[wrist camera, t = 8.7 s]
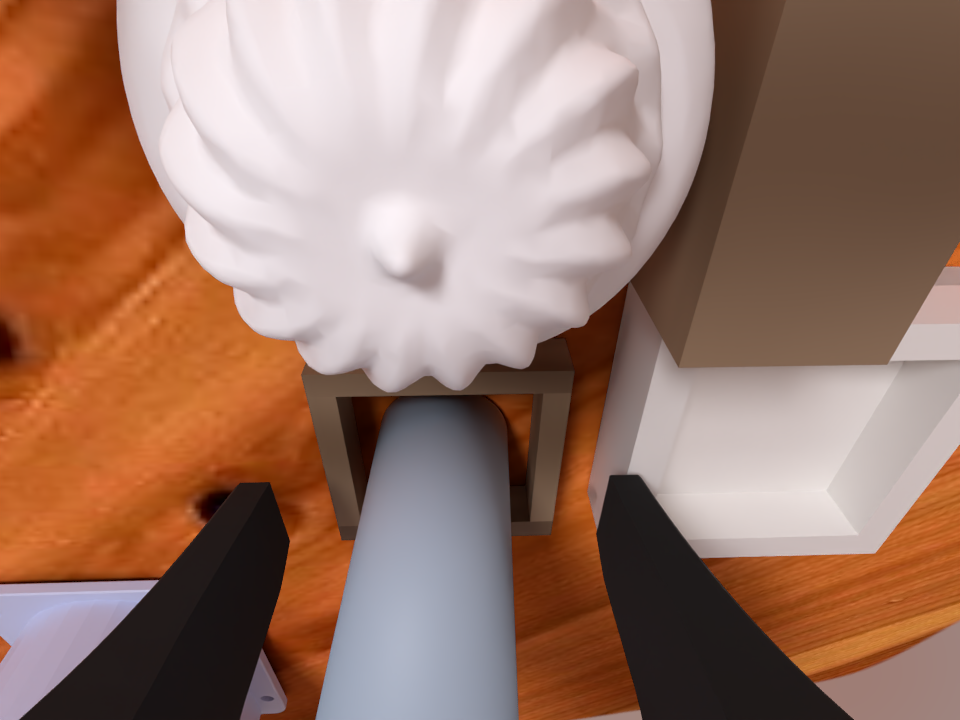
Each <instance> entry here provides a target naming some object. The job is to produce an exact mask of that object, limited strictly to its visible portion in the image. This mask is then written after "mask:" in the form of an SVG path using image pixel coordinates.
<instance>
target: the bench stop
mask: <svg viewBox="0 0 960 720" xmlns="http://www.w3.org/2000/svg"><path fill="white" fill-rule="evenodd" d="M711 6H712V17H713V30H714V41H715V74H714V91H713V98H712V106H711V113H710V121H709V126H708V131H707V136H706V141H705V145H704V148H703V152H702V156H701V159H700V162H699V165H698V168H697V171H696V174H695V177H694V180H693V182H692V185H691V187H690V190H689V192H688V194H687V197H686V199H685V201H684V203H683V205H682V207H681V209H680V211H679V213H678V215H677V217H676V219H675V220H674V222H673V223H672V225H671V227H670V228H669V230H668V232H667V233H666V235H665V237H664V238H663V240H662V241H661V243H660V244H659V245H658V247H657V248H656V250H655V251H654V253H653V254H652V255H651V257H650V258H649V259H648V260H647V262H646V263H645V264H644V265H643V266H642V268H641V269H640V270H639V271H638V273H637V274H636V275H635V276H634V277H633V278H632V279H631V280H630V282H631V283H632V285H633V287H634V289H635V291H636V292H637V294H638V296H639V298H640V300H641V301H642V303H643V305H644V307H645V309H646V310H647V312H648V314H649V316H650V317H651V319H652V321H653V323H654V325H655V326H656V328H657V330H658V332H659V334H660V335H661V337H662V339H663V341H664V343H665V344H666V346H667V348H668V350H669V352H670V353H671V355H672V357H673V359H674V360H675V362H676V364H677V366H678V368H702V367H769V366H837V365H887V364H888V363H889V361H890V359H891V358H892V356H893V354H894V352H895V351H896V349H897V347H898V346H899V344H900V342H901V341H902V339H903V337H904V335H905V334H906V332H907V330H908V329H909V327H910V325H911V323H912V322H913V320H914V318H915V317H916V315H917V313H918V312H919V310H920V308H921V306H922V305H923V303H924V301H925V300H926V298H927V296H928V294H929V293H930V291H931V289H932V288H933V286H934V284H935V283H936V281H937V279H938V277H939V276H940V274H941V272H942V271H943V269H944V267H945V265H946V264H947V262H948V260H949V259H950V257H951V255H952V254H953V252H954V250H955V248H956V247H957V245H958V243H959V242H960V0H711Z"/></svg>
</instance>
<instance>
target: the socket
mask: <svg viewBox="0 0 960 720" xmlns="http://www.w3.org/2000/svg"><path fill="white" fill-rule="evenodd" d="M574 372H575V370H574V367H573V363H572V360H571V356H570V353H569V350H568V346H567V343H566V340H565V338H550V339H548V340H546V341H543V342H540V343H538V344H537V347H536V351H535V355H534V358H533V360H532V362H531V364H530V366H529V367H526V368H524V369H517V368H512V367H508V366H505V365H501V364H498V363H495V364H485V366H484V367H483V368H482V369H481V370H480V372H479V373H478V374H477V376H476V377H475V378H474V380H473V381H472V382H471V384H470V385H468V386H467V387H466V388H464V389H463V390H461V391H459V390H452V389H450V388H448V387H446V386H444V385H443V384H441V383H440V382H439V381H438V380H437V379H435V378H434V377H433V376H424V377H422V378H420V379H419V380H417V381H416V382H414V383H412V384H411V385H409V386H408V387H406V388H405V389H403V390H400V391H398V392H385V391H383V390H381V389H380V388H378V387H377V386H376V385H374V384H373V383H372V382H371V380H370V379H369V378H368V377H367V375H366V374H365V372H364V371H363V369H362V368H359V369H356V370H352V371H349V372H346V373H343V374H336V375H325V374H321V373H319V372H317V371H316V370H314V369H312V368H311V367H309V366H308V365H307V363H306V364H305V367H304V369H303V372H302V374H301V376H302V380H303V384H304V388H305V392H306V396H307V400H308V404H309V408H310V413H311V417H312V421H313V425H314V429H315V433H316V437H317V441H318V445H319V449H320V453H321V457H322V461H323V466H324V470H325V474H326V478H327V482H328V486H329V490H330V494H331V498H332V502H333V506H334V510H335V514H336V519H337V523H338V527H339V531H340V535H341V539H342V540H355V539H356V534H357V530H358V525H359V521H360V516H361V512H362V507H363V503H364V498H365V494H366V489H367V481H366V476H365V470H364V465H363V459H362V453H361V448H360V442H359V437H358V431H357V426H356V420H355V414H354V409H353V403H352V398H351V397H360V396H422V395H483V394H534V395H533V406H532V417H531V429H530V440H529V451H528V462H527V473H526V484H525V486H509V487H510V513H511V536H528V535H551V530H552V523H553V516H554V509H555V503H556V496H557V489H558V482H559V475H560V468H561V461H562V455H563V448H564V441H565V434H566V427H567V420H568V413H569V407H570V400H571V393H572V386H573V379H574Z"/></svg>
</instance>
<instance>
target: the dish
mask: <svg viewBox="0 0 960 720" xmlns="http://www.w3.org/2000/svg"><path fill="white" fill-rule="evenodd" d="M959 444H960V267H944V269H943V271H942V272H941V274H940V276H939V277H938V279H937V281H936V283H935V284H934V286H933V288H932V289H931V291H930V293H929V294H928V296H927V298H926V300H925V301H924V303H923V305H922V306H921V308H920V310H919V312H918V313H917V315H916V317H915V318H914V320H913V322H912V323H911V325H910V327H909V329H908V330H907V332H906V334H905V335H904V337H903V339H902V341H901V342H900V344H899V346H898V347H897V349H896V351H895V352H894V354H893V356H892V358H891V359H890V361H889V363H888V364H887V365H837V366H769V367H702V368H678V366H677V364H676V362H675V360H674V359H673V357H672V355H671V353H670V352H669V350H668V348H667V346H666V344H665V343H664V341H663V339H662V337H661V335H660V334H659V332H658V330H657V328H656V326H655V325H654V323H653V321H652V319H651V317H650V316H649V314H648V312H647V310H646V309H645V307H644V305H643V303H642V301H641V300H640V298H639V296H638V294H637V292H636V291H635V289H634V287H633V285H632V283H631V282H630V281H629V284H628V289H627V294H626V299H625V304H624V309H623V314H622V319H621V324H620V330H619V335H618V340H617V345H616V350H615V355H614V360H613V365H612V370H611V375H610V380H609V385H608V390H607V395H606V400H605V405H604V410H603V415H602V420H601V425H600V430H599V436H598V441H597V446H596V451H595V456H594V461H593V466H592V471H591V476H590V481H589V486H588V491H587V492H588V496H589V500H590V504H591V508H592V512H593V516H594V520H595V523H596V527H597V528H598V524H599V520H600V515H601V511H602V507H603V502H604V498H605V494H606V489H607V485H608V481H609V476H610V475H639V476H640V477H641V478H642V479H643V481H644V482H645V484H646V485H647V487H648V488H649V489H650V491H651V492H652V494H653V495H654V497H655V498H656V500H657V501H658V502H659V504H660V505H661V507H662V508H663V509H664V511H665V512H666V514H667V515H668V516H669V518H670V519H671V520H672V522H673V523H674V525H675V526H676V527H677V529H678V530H679V531H680V533H681V534H682V535H683V537H684V538H685V539H686V541H687V542H688V543H689V545H690V546H691V547H692V548H693V550H694V551H695V552H696V553H697V555H698V556H699V557H700V558H721V557H757V556H794V555H831V554H868V553H876V551H877V550H878V549H879V548H880V546H881V545H882V544H883V542H884V541H885V540H886V539H887V537H888V536H889V535H890V533H891V532H892V531H893V530H894V528H895V527H896V526H897V524H898V523H899V522H900V520H901V519H902V518H903V517H904V515H905V514H906V513H907V511H908V510H909V509H910V508H911V506H912V505H913V504H914V502H915V501H916V500H917V499H918V497H919V496H920V495H921V493H922V492H923V491H924V490H925V488H926V487H927V486H928V484H929V483H930V482H931V481H932V479H933V478H934V477H935V475H936V474H937V473H938V472H939V470H940V469H941V468H942V466H943V465H944V464H945V462H946V461H947V460H948V459H949V457H950V456H951V455H952V453H953V452H954V451H955V450H956V448H957V447H958V446H959Z"/></svg>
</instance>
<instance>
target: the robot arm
mask: <svg viewBox="0 0 960 720" xmlns="http://www.w3.org/2000/svg"><path fill="white" fill-rule="evenodd" d="M596 535H597V541H598V547H599V553H600V559H601V565H602V571H603V576H604V581H605V585H606V589H607V592H608V596H609V599H610V603H611V606H612V610H613V613H614V617H615V620H616V624H617V627H618V631H619V634H620V638H621V641H622V645H623V648H624V652H625V655H626V659H627V662H628V666H629V669H630V673H631V676H632V679H633V683H634V686H635V690H636V694H637V698H638V702H639V706H640V710H641V715H642V720H854V719H853V718H851V717H850V716H849V715H848V714H847V713H846V712H845V711H844V710H842V709H841V708H840V707H839V706H838V705H837V704H836V703H835V702H834V701H833V700H832V699H830V698H829V697H828V696H827V695H826V694H825V693H824V692H823V691H822V690H821V689H820V688H818V687H817V686H816V685H815V684H814V683H813V682H812V681H811V680H810V679H809V678H808V677H807V676H806V675H805V674H804V673H803V672H802V671H801V670H800V669H799V668H798V667H797V666H796V665H795V664H794V663H793V662H792V661H791V660H790V659H789V658H788V657H787V656H786V655H785V654H784V653H783V652H782V651H781V650H780V649H779V648H778V647H777V646H776V645H775V644H774V643H773V641H772V640H771V639H770V638H769V637H768V636H767V635H766V634H765V633H764V632H763V631H762V630H761V629H760V628H759V627H758V626H757V624H756V623H755V622H754V621H753V620H752V619H751V618H750V617H749V616H748V614H747V613H746V612H745V611H744V610H743V609H742V608H741V607H740V605H739V604H738V603H737V602H736V601H735V600H734V598H733V597H732V596H731V595H730V594H729V593H728V592H727V590H726V589H725V588H724V587H723V586H722V584H721V583H720V582H719V581H718V580H717V578H716V577H715V576H714V575H713V574H712V572H711V571H710V570H709V569H708V567H707V566H706V565H705V564H704V562H703V561H702V560H701V558H700V557H699V556H698V555H697V553H696V552H695V551H694V550H693V548H692V547H691V546H690V545H689V543H688V542H687V541H686V539H685V538H684V537H683V535H682V534H681V533H680V531H679V530H678V529H677V527H676V526H675V525H674V523H673V522H672V520H671V519H670V518H669V516H668V515H667V514H666V512H665V511H664V509H663V508H662V507H661V505H660V504H659V502H658V501H657V500H656V498H655V497H654V495H653V494H652V492H651V491H650V489H649V488H648V487H647V485H646V484H645V482H644V481H643V479H642V478H641V477H640V476H639V475H610V476H609V481H608V485H607V489H606V494H605V498H604V502H603V507H602V511H601V515H600V520H599V524H598V528H597V533H596ZM289 543H290V540H289V537H288V534H287V531H286V528H285V525H284V523H283V520H282V517H281V514H280V511H279V508H278V505H277V502H276V499H275V496H274V493H273V491H272V488H271V485H270V482H260V483H240V484H239V485H238V486H237V487H236V488H235V489H234V490H233V491H232V493H231V494H230V495H229V496H228V498H227V499H226V500H225V501H224V503H223V504H222V505H221V506H220V508H219V509H218V510H217V511H216V513H215V514H214V515H213V516H212V518H211V519H210V520H209V521H208V523H207V524H206V525H205V526H204V528H203V529H202V530H201V531H200V532H199V534H198V535H197V536H196V537H195V538H194V540H193V541H192V542H191V543H190V545H189V546H188V547H187V548H186V549H185V550H184V552H183V553H182V554H181V555H180V556H179V557H178V559H177V560H176V561H175V562H174V563H173V564H172V566H171V567H170V568H169V569H168V570H167V571H166V573H165V574H164V575H163V576H162V577H161V578H160V580H136V581H99V582H63V583H27V584H0V636H1V637H2V638H3V639H4V640H6V641H7V642H8V643H9V644H10V645H11V646H12V647H11V648H10V650H9V651H8V653H7V654H6V656H5V657H4V659H3V660H2V662H1V663H0V720H259V719H260V716H261V714H273V713H280V712H283V711H284V710H285V709H286V704H287V698H286V696H285V694H284V692H283V689H282V687H281V685H280V683H279V681H278V679H277V677H276V675H275V673H274V671H273V669H272V667H271V665H270V663H269V661H268V659H267V657H266V655H265V653H264V651H263V649H262V647H263V644H264V641H265V638H266V634H267V631H268V628H269V625H270V622H271V619H272V615H273V612H274V609H275V606H276V603H277V599H278V596H279V593H280V589H281V585H282V580H283V575H284V570H285V565H286V559H287V554H288V548H289Z"/></svg>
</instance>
